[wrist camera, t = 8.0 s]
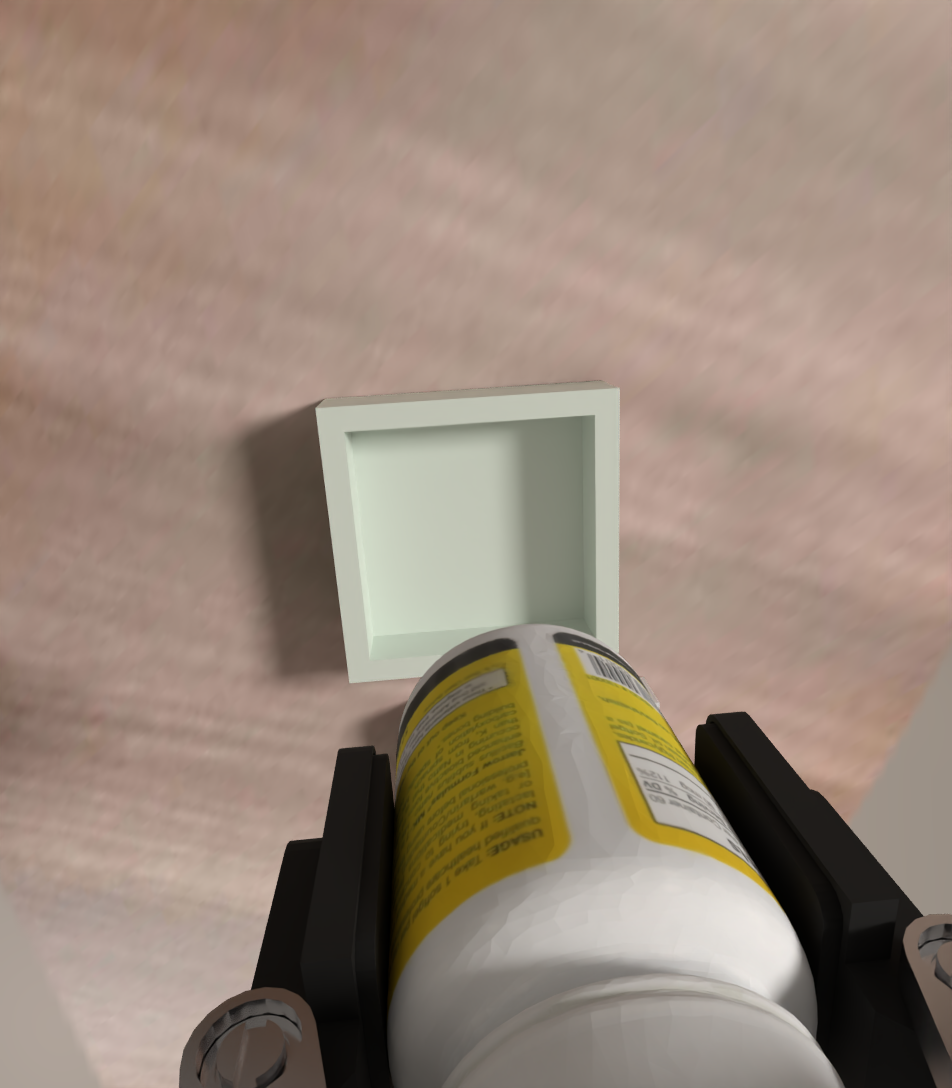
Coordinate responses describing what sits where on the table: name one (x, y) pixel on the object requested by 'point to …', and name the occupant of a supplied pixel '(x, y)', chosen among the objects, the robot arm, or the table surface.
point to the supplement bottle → (577, 891)
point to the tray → (470, 517)
